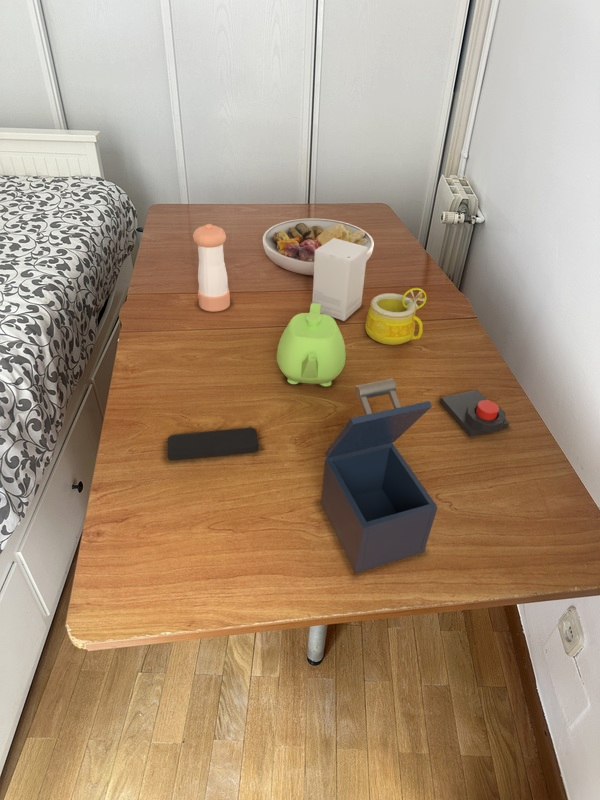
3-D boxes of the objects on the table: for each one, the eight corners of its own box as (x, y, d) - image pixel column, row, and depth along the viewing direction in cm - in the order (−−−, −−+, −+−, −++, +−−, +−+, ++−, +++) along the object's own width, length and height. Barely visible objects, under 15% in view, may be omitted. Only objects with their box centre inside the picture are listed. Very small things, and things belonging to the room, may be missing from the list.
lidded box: (424, 552, 75) (438, 507, 69) (355, 573, 72) (363, 528, 66) (383, 487, 84) (392, 442, 78) (320, 503, 81) (325, 458, 75)
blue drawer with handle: (432, 406, 66) (416, 367, 67) (353, 424, 63) (338, 383, 64) (393, 442, 78) (381, 408, 79) (326, 458, 75) (314, 423, 76)
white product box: (362, 306, 128) (369, 246, 119) (344, 322, 122) (350, 260, 113) (329, 295, 132) (334, 236, 122) (310, 310, 126) (313, 249, 116)
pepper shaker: (204, 314, 123) (196, 232, 111) (195, 299, 128) (187, 220, 116) (234, 308, 125) (230, 228, 113) (224, 294, 130) (220, 216, 118)
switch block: (511, 432, 95) (516, 419, 93) (473, 441, 93) (477, 429, 91) (475, 394, 103) (479, 381, 102) (439, 402, 101) (442, 389, 99)
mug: (354, 337, 117) (360, 288, 110) (378, 317, 124) (385, 269, 117) (408, 358, 112) (418, 307, 104) (429, 335, 119) (440, 286, 112)
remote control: (256, 434, 93) (167, 440, 90) (256, 426, 92) (166, 432, 89) (259, 454, 90) (167, 461, 87) (259, 446, 88) (166, 453, 86)
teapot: (343, 407, 99) (350, 350, 91) (271, 401, 99) (271, 344, 91) (344, 346, 114) (349, 293, 106) (281, 342, 115) (282, 289, 107)
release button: (500, 418, 94) (503, 410, 93) (483, 422, 93) (485, 415, 92) (488, 405, 97) (491, 398, 96) (471, 409, 96) (473, 402, 95)
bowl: (277, 229, 162) (277, 203, 157) (376, 241, 158) (379, 214, 153) (250, 273, 139) (249, 244, 134) (365, 287, 135) (369, 258, 130)
